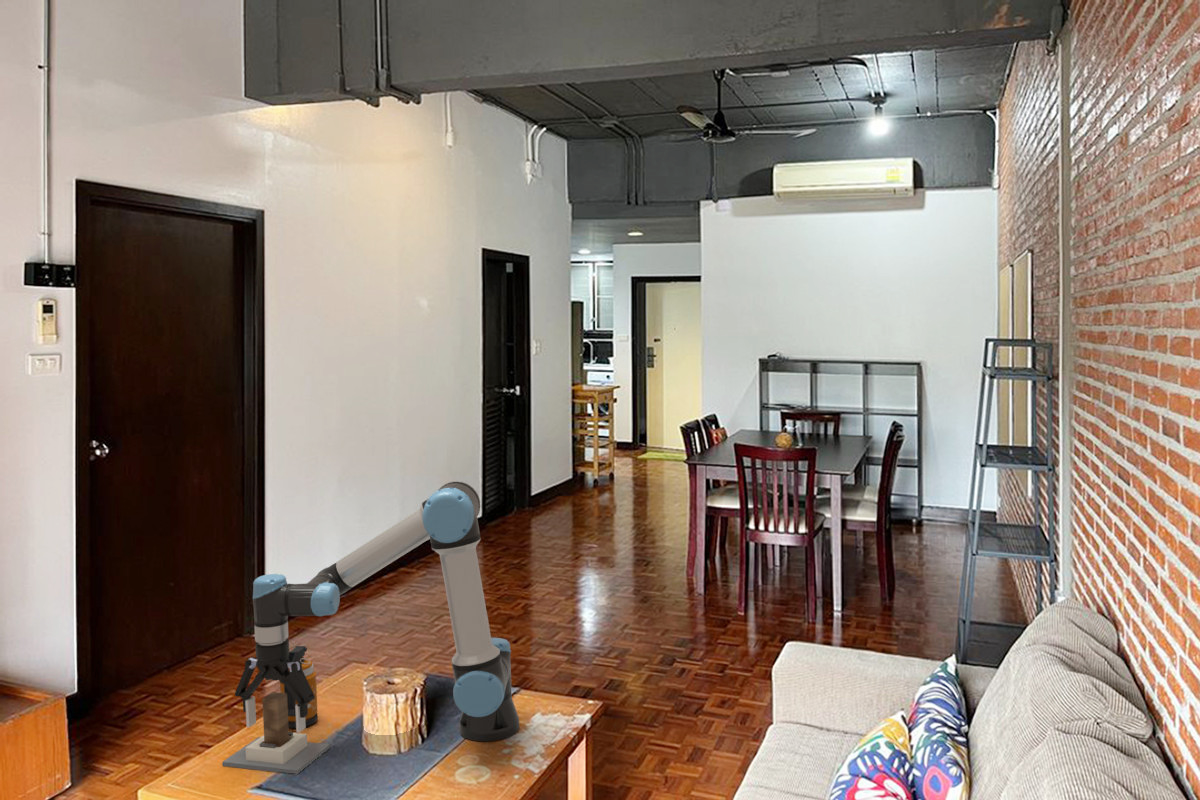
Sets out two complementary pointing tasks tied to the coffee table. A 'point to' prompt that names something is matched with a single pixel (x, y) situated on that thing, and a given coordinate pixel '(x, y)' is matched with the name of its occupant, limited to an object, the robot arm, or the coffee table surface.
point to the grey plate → (277, 755)
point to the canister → (311, 678)
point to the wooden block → (275, 719)
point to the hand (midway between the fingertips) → (276, 727)
